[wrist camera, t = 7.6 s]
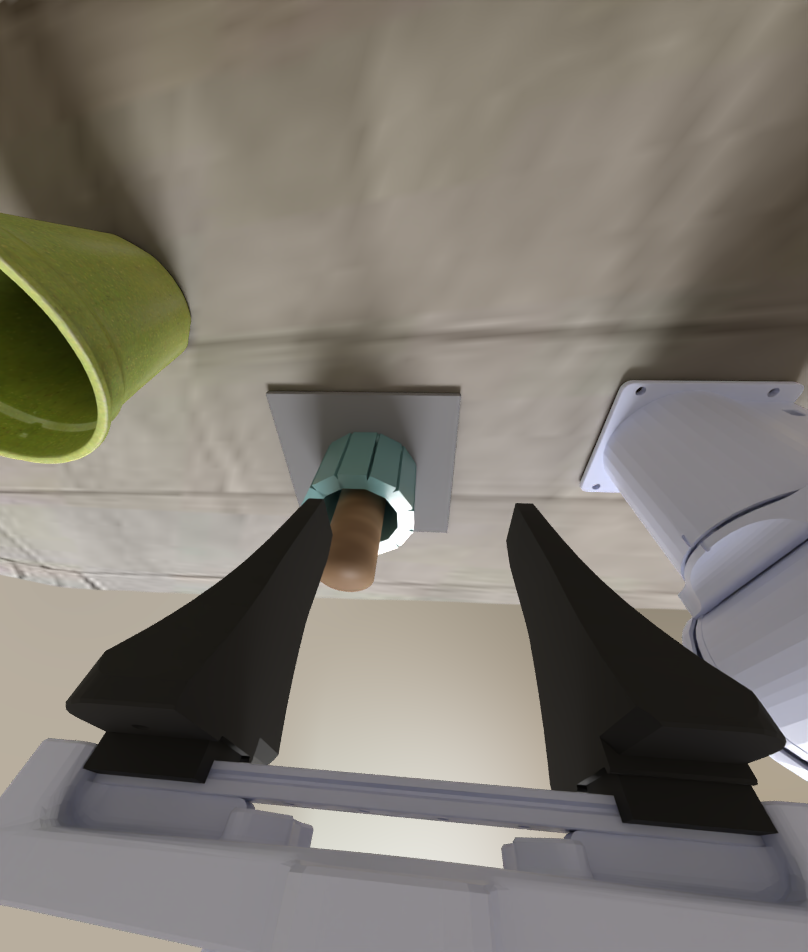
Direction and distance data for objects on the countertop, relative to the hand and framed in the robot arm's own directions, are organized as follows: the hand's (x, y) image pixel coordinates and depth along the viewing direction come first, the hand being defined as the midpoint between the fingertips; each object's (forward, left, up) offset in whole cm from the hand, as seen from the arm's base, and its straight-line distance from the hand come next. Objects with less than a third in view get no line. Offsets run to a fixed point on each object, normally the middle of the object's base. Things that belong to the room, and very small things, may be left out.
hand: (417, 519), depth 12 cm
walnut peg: (+4, +5, -9) cm, 11 cm away
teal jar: (+4, +5, -9) cm, 11 cm away
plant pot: (+16, -6, -10) cm, 20 cm away
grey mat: (+4, +5, -10) cm, 12 cm away
